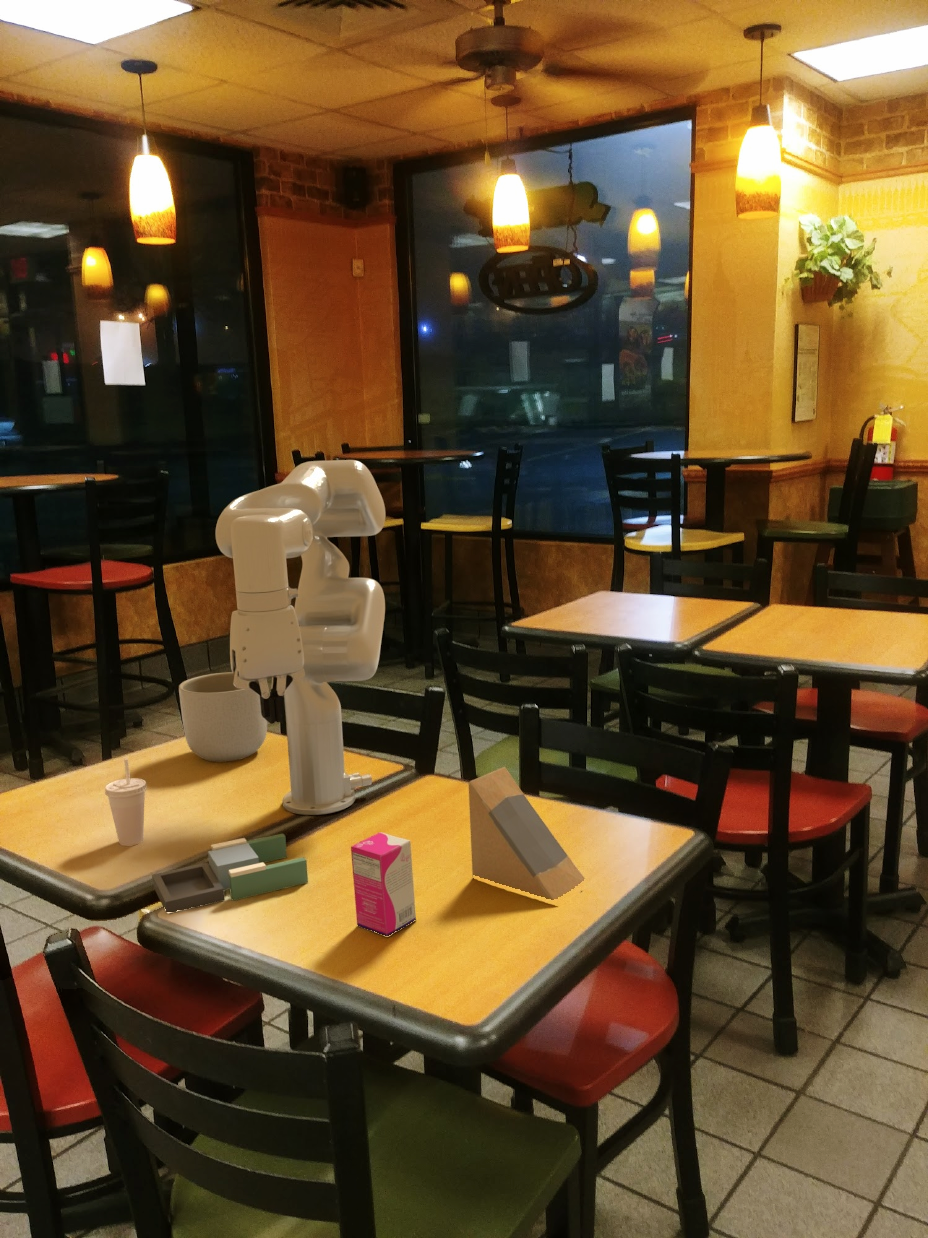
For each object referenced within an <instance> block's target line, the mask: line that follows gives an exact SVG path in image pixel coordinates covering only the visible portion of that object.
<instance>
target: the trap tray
mask: <svg viewBox="0 0 928 1238" xmlns="http://www.w3.org/2000/svg"><path fill="white" fill-rule="evenodd" d="M151 877H152V887H153V889H154V891H155V893H156V896H157V897H158V899H159V901H160V904H161V905H162V907H163V908H164V907H165V909H166V911H165V913H166V912H174V913H177V912H176V911H177V910H182V911H185V910H184V909H187V910H190V909H189V908H191V907H195V908H199V907H201V906H200V905H203V906H207V905H211V904H216V903H219V902H223V901H225V900H226V898H225V890H224V888H223V886H222V885H221V883H220V882H219V880H218V879H217V877H216V876H215V874H214V872H213V871H212V869H211V868H210V866H209V862H203V863H199V864H194V865H190V866H185V867H181V868H176V869H173V870H172V869H171V870H168V871H163V872H158V873H155V874H151ZM198 906H199V907H198ZM165 909H164V910H165ZM191 909H192V908H191Z"/></svg>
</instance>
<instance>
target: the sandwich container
mask: <svg viewBox="0 0 928 1238" xmlns="http://www.w3.org/2000/svg"><path fill="white" fill-rule="evenodd" d="M468 801H469V802H468V803H469V821H470V823H469V824H470V825H469V827H470V847H471V848H470V849H471V867H472V868H471V869H472V870H471V871H472V876H473V875H475V876H479V877H480V878H484V879H488V880H490V881H494V882H495V883H499V884H502V885H506V886H509V887H512V888H515V889H520V890H521V891H525V892H529V893H530V894H534V895H537V896H541V897H545V898H546V899H551V900H554V899H558V897H561V896H563V894H566V893H567V892H569V891H571V889H574V888H575V886H578V884H580V883H581V882H582V881H584V879H586V878H585V876H584V875H583V874H582V873H581V871H580V870H579V868H578V867H577V866H576V864H575V863H574V862H573V860H572V859H571V857H570V856H569V855H568V854H567V852H566V851H565V850H564V848H563V847H562V845H561V844H560V843H559V842H558V840H557V839H556V837H555V836H554V835H553V833H552V831H551V830H550V829H549V828H548V826H547V825H546V823H545V822H544V821H543V819H542V818H541V817H540V815H539V814H538V812H537V811H536V809H535V808H534V807H533V804H532V803H531V802H530V801H529V800H528V798H527V797H526V795H525V794H524V792H523V791H522V790H521V788H520V787H519V785H518V784H517V782H516V781H515V779H514V777H513V776H512V775H511V773H510V772H509V770H508V769H507V768H506V766H503V767H500V768H498V769H496V770H494V771H491V772H489V773H488V772H487V773H486V774H484V775H482V776H479V777H477V778H475V779H472V780H469V782H468Z"/></svg>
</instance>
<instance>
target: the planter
mask: <svg viewBox="0 0 928 1238" xmlns="http://www.w3.org/2000/svg"><path fill="white" fill-rule="evenodd" d="M234 675H235V674H234V673H233V672H232V671H229V672H228V671H227V672H218V673H217V672H216V673H209V674H204V675H199V676H195V677H192V678H189V679H187V680H184V681H182V682H181V683H180V684H179V685H178V693H179V694H178V695H179V703H180V709H181V719H182V725H183V731H184V737H185V741H186V744H187V746H188V747H189V749H190V750H191V752H192V753H194V754H195V755H196V756H198V757H199V758H201V759H203V760H205V761H208V762H219V763H220V762H222V763H223V762H225V763H226V762H232V761H238V760H241V759H245V758H248V757H250V756H252V755H253V754H255V753H256V752H257V751H258V750H259V749H260V748H261V747H262V745H263V744H264V743H265V740H266V737H267V734H268V731H267V730H268V721H267V720H265V718H263V717H262V715H261V705H260V695H259V694H257V693H256V692H255V691H253V690H252V689H239V688H236V687H235V686H234V685H233V682H234Z"/></svg>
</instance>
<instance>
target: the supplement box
mask: <svg viewBox="0 0 928 1238" xmlns="http://www.w3.org/2000/svg"><path fill="white" fill-rule="evenodd" d="M411 844H412V843H411V840H410V839H405V838H402V837H398V836H394V835H391V834H389V833H388V834H387V833H385V832H378V833H376V834H373V835H371V836H370V837H368V838H366V839H364V840H362V841H360V842H357V843H356V844H353V845H351V846H350V853H351V855H350V856H351V864H352V876H353V878H352V879H353V888H354V889H353V890H354V891H353V892H354V903H355V904H354V905H355V915H356V925H358V927H359V926H360V928H361V927H362V928H361V929H364V928H365V929H364V930H367V929H368V930H367V931H369V930H372V931H373V932H372V931H371V932H372V933H374V931H375V932H377V933H379V934H382V935H385V936H389V935H391V934H392V933H394V932H395V931H398V930H400V929H401V928H403V927H405V928H406V925H408V924H410V923H411V922H413V921H414V920H416V921H417V918H416V916H417V913H416V904H415V903H416V902H415V888H414V887H415V886H414V875H413V874H414V873H413V863H412V862H413V861H412V860H413V859H412V847H411ZM410 925H411V924H410ZM408 926H409V925H408ZM403 929H404V928H403ZM400 931H401V930H400ZM398 932H399V931H398ZM377 933H376V934H377ZM379 934H378V935H379Z"/></svg>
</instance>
